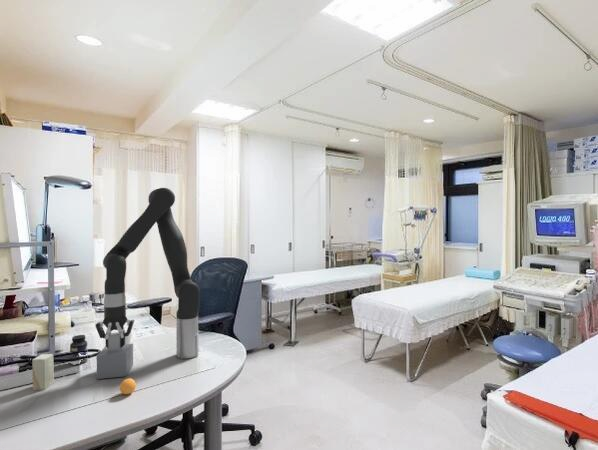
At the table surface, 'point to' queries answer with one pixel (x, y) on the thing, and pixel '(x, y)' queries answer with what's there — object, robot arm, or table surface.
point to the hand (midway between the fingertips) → (115, 347)
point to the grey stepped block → (114, 358)
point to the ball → (127, 386)
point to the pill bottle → (79, 345)
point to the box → (43, 371)
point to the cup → (128, 338)
